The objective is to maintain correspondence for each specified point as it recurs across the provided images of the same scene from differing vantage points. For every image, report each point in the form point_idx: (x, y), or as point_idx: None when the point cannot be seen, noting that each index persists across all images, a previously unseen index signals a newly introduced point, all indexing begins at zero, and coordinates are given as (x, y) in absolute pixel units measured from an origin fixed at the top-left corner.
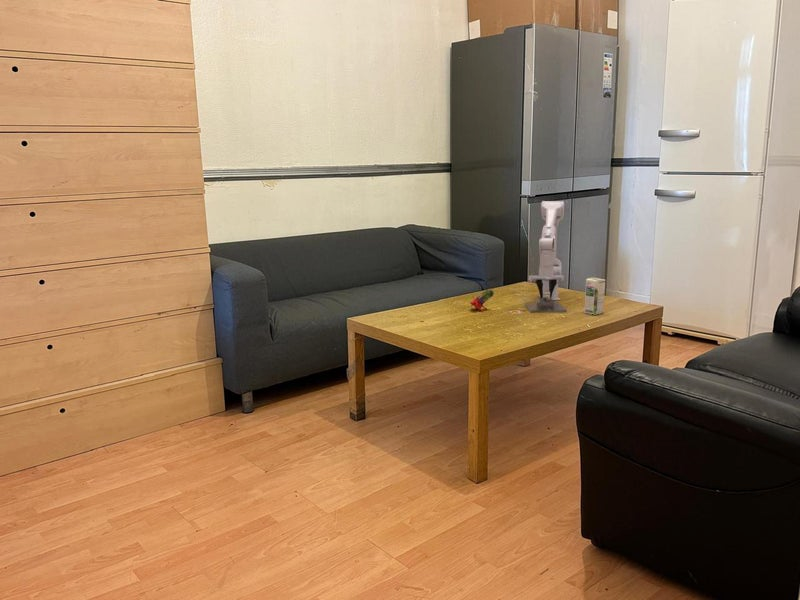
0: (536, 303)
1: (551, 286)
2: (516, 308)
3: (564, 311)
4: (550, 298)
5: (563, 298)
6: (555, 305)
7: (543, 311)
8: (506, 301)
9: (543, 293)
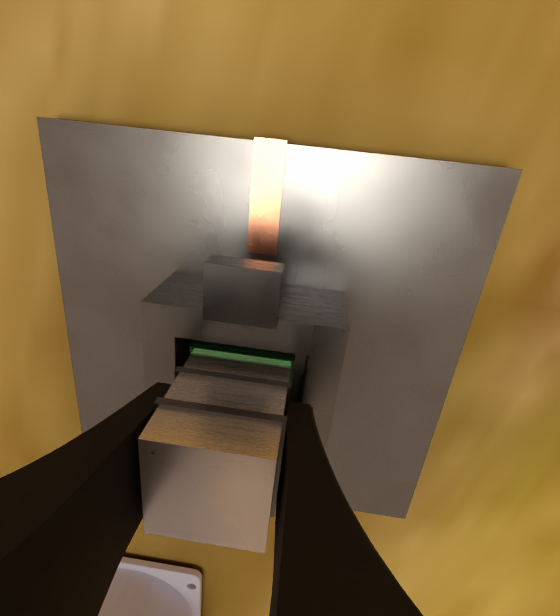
0: None
1: (42, 515)
2: (555, 400)
3: (81, 121)
4: None
5: None
6: (139, 355)
7: (346, 151)
8: (495, 612)
9: (270, 433)
